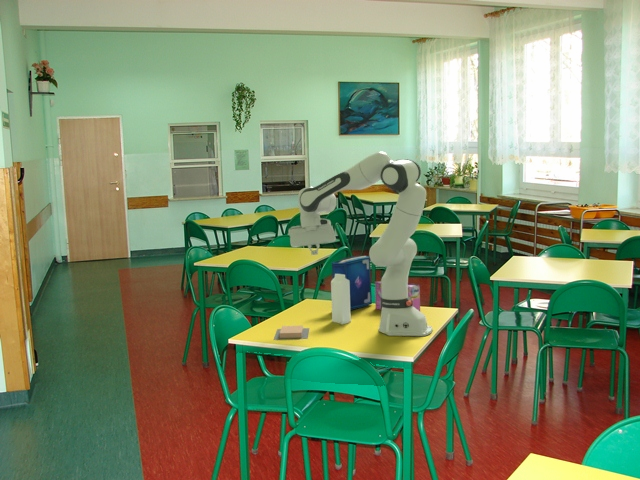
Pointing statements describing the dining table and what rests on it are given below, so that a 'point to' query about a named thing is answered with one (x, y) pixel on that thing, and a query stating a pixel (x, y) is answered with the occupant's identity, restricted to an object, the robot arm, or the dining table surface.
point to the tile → (291, 331)
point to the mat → (304, 336)
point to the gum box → (412, 293)
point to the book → (356, 279)
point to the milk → (340, 299)
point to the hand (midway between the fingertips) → (314, 254)
